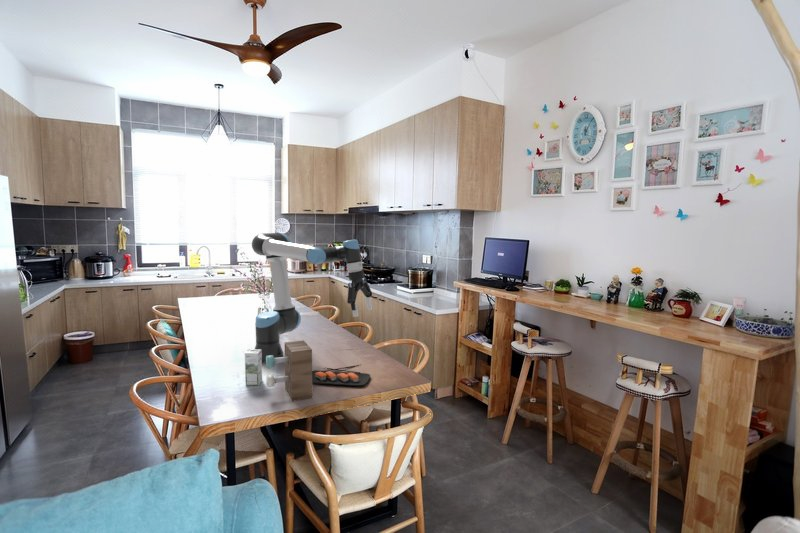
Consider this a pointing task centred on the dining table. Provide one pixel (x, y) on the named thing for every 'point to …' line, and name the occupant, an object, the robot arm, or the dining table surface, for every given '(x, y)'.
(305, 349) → the block
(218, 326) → the dining table surface
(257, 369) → the syrup box
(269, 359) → the teal knob
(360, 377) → the sushi plate
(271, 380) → the cream knob
